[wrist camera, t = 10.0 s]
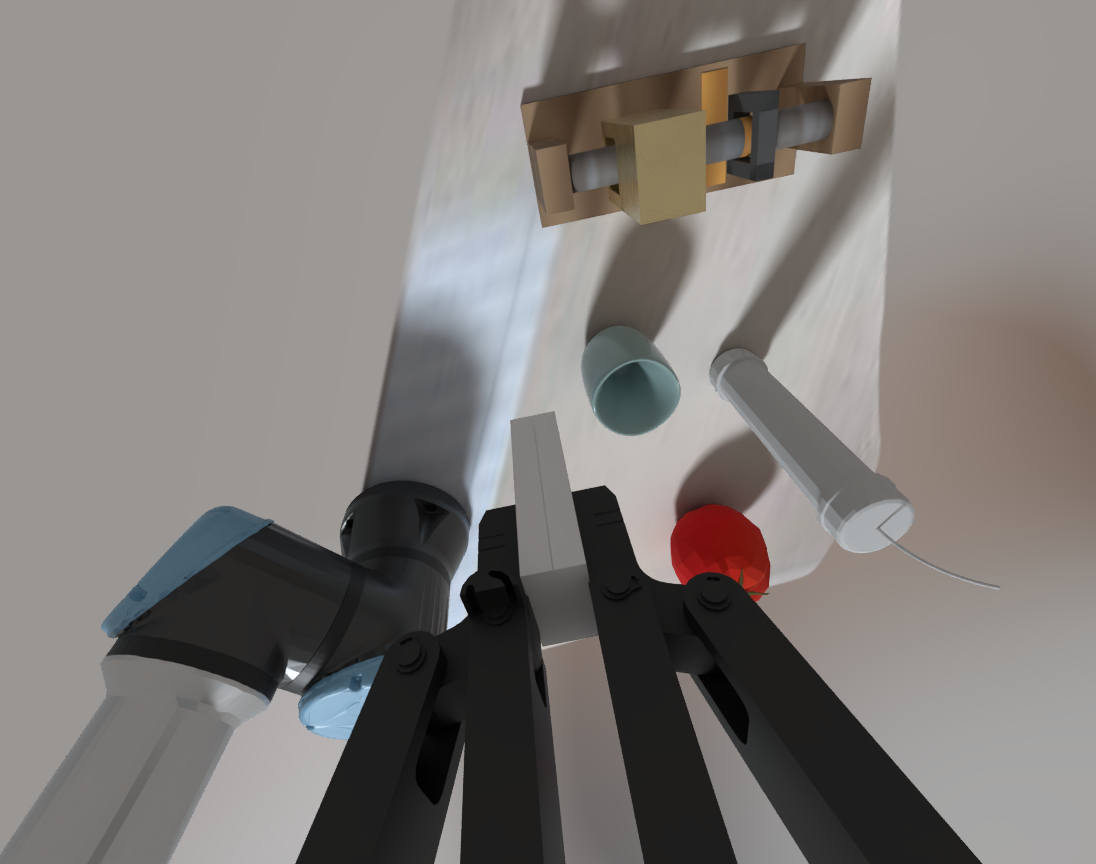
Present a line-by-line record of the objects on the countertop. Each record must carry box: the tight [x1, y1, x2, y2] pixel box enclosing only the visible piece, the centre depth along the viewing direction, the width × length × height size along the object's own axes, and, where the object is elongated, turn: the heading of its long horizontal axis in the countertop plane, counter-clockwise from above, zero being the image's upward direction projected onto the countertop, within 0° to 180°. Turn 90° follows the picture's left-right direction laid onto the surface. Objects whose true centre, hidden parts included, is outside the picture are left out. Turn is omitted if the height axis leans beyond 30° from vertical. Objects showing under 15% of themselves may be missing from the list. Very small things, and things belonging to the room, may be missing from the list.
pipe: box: [710, 348, 1000, 589], centre depth 41 cm, size 6×6×30 cm
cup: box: [581, 325, 680, 436], centre depth 47 cm, size 8×8×10 cm
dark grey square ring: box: [727, 90, 780, 182], centre depth 34 cm, size 1×5×5 cm, turn 10°
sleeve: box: [601, 109, 706, 225], centre depth 32 cm, size 4×5×10 cm
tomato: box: [671, 504, 770, 602], centre depth 60 cm, size 12×12×13 cm
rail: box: [520, 43, 872, 228], centre depth 37 cm, size 22×9×10 cm, turn 100°
